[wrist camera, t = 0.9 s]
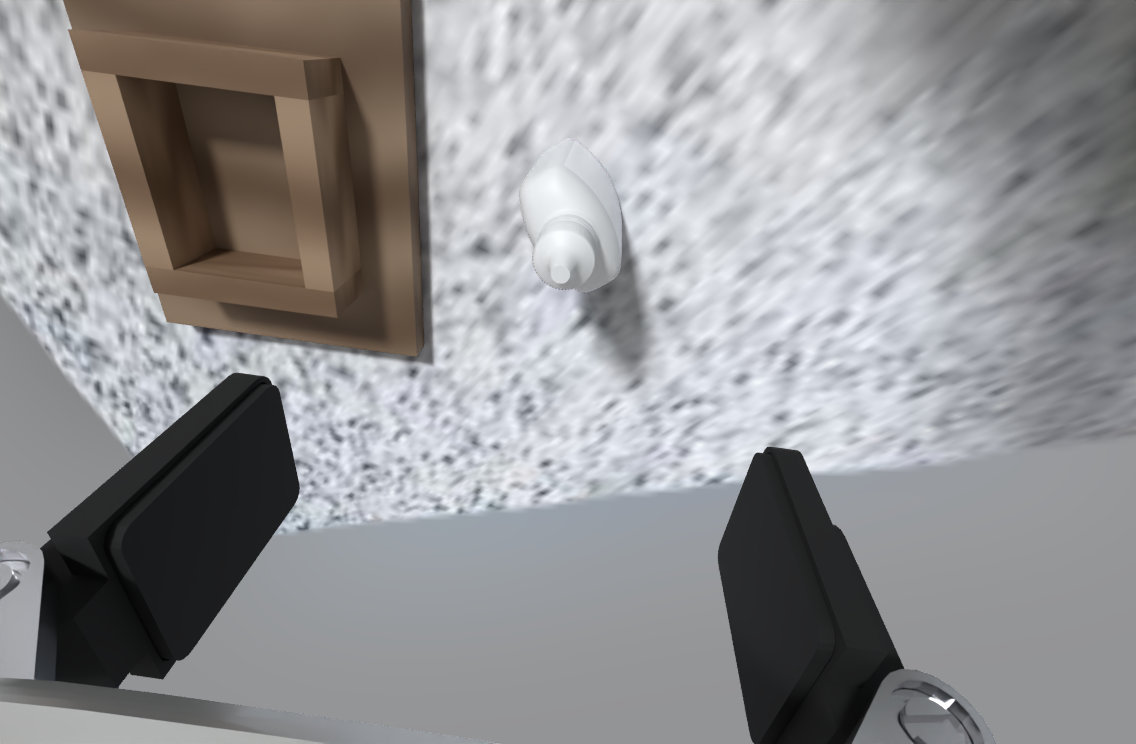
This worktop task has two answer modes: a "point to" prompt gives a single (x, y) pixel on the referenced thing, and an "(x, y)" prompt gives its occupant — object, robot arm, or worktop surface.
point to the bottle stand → (266, 160)
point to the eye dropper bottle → (572, 218)
